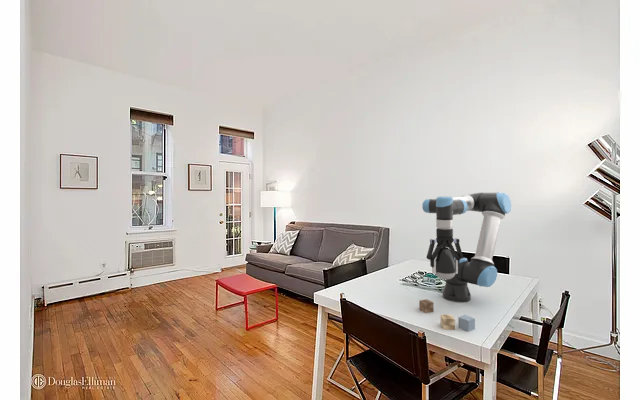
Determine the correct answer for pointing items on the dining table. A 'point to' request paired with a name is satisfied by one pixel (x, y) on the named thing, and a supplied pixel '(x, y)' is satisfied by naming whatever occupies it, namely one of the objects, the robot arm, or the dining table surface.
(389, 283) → the dining table surface
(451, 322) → the maple cube
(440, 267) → the black rounded cone
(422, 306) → the walnut cube
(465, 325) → the slate cube
